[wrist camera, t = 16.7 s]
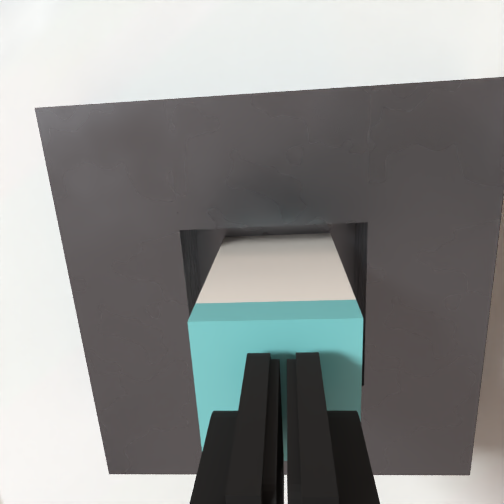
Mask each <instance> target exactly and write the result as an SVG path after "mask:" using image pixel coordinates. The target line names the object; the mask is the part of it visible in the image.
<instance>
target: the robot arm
mask: <svg viewBox="0 0 504 504" xmlns="http://www.w3.org/2000/svg"><path fill="white" fill-rule="evenodd" d="M287 489H288V504H380V502H379V498H378V493H377V489H376V485H375V481H374V477H373V472H372V468H371V464H370V460H369V456H368V452H367V447H366V443H365V439H364V435H363V431H362V426H361V422H360V418H359V415H358V412H357V411H327V407H326V400H325V393H324V386H323V378H322V371H321V364H320V356H319V352H296V359H287ZM190 504H284V450H283V427H282V404H281V381H280V360H279V359H271V355H270V353H247V357H246V363H245V369H244V376H243V382H242V389H241V395H240V402H239V408H238V411H213V412H212V414H211V418H210V422H209V426H208V430H207V434H206V438H205V442H204V447H203V451H202V455H201V459H200V463H199V467H198V471H197V476H196V480H195V484H194V488H193V492H192V496H191V500H190Z"/></svg>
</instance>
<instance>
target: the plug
mask: <svg viewBox="0 0 504 504" xmlns="http://www.w3.org/2000/svg"><path fill="white" fill-rule="evenodd" d="M188 331H189V340H190V349H191V358H192V367H193V375H194V384H195V393H196V402H197V411H198V420H199V429H200V438H201V446H202V451H203V447H204V442H205V438H206V434H207V430H208V426H209V422H210V418H211V414H212V412H213V411H238V408H239V402H240V395H241V389H242V382H243V376H244V369H245V363H246V357H247V353H270V355H271V359H279V360H280V381H281V404H282V427H283V450H284V461H287V359H296V352H319V356H320V364H321V371H322V378H323V386H324V393H325V400H326V407H327V411H357V412H358V415H359V418H360V422H361V388H362V350H363V316H362V314H361V311H360V308H359V306H358V303H357V301H356V298H355V296H354V293H353V291H352V288H351V285H350V283H349V280H348V278H347V275H346V273H345V270H344V267H343V265H342V262H341V260H340V257H339V255H338V252H337V250H336V247H335V244H334V242H333V239H332V237H331V234H330V233H320V234H292V235H264V236H236V237H224V240H223V242H222V244H221V246H220V249H219V251H218V253H217V256H216V258H215V260H214V262H213V265H212V267H211V269H210V272H209V274H208V276H207V278H206V281H205V283H204V285H203V287H202V290H201V292H200V294H199V297H198V299H197V301H196V303H195V306H194V308H193V310H192V313H191V315H190V317H189V319H188Z"/></svg>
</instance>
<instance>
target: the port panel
mask: <svg viewBox="0 0 504 504" xmlns="http://www.w3.org/2000/svg"><path fill="white" fill-rule="evenodd" d="M35 112H36V117H37V122H38V127H39V132H40V137H41V141H42V146H43V151H44V156H45V161H46V166H47V171H48V176H49V181H50V186H51V191H52V195H53V200H54V205H55V210H56V215H57V220H58V225H59V230H60V235H61V240H62V244H63V249H64V254H65V259H66V264H67V269H68V274H69V279H70V284H71V289H72V294H73V298H74V303H75V308H76V313H77V318H78V323H79V328H80V333H81V338H82V343H83V348H84V352H85V357H86V362H87V367H88V372H89V377H90V382H91V387H92V392H93V397H94V402H95V406H96V411H97V416H98V421H99V426H100V431H101V436H102V441H103V446H104V451H105V456H106V460H107V465H108V470H109V474H197V471H198V467H199V463H200V459H201V455H202V446H201V438H200V429H199V420H198V411H197V402H196V393H195V384H194V375H193V367H192V358H191V349H190V340H189V331H188V319H189V317H190V315H191V313H192V310H193V308H194V306H195V303H196V301H197V299H198V297H199V294H200V292H201V290H202V287H203V285H204V283H205V281H206V278H207V276H208V274H209V272H210V269H211V267H212V265H213V262H214V260H215V258H216V256H217V253H218V251H219V249H220V246H221V244H222V242H223V240H224V237H236V236H264V235H292V234H320V233H330V234H331V237H332V239H333V242H334V244H335V247H336V250H337V252H338V255H339V257H340V260H341V262H342V265H343V267H344V270H345V273H346V275H347V278H348V280H349V283H350V285H351V288H352V291H353V293H354V296H355V298H356V301H357V303H358V306H359V308H360V311H361V314H362V316H363V350H362V388H361V426H362V431H363V435H364V439H365V443H366V447H367V452H368V456H369V460H370V464H371V468H372V472H373V475H470V470H471V462H472V453H473V445H474V437H475V428H476V420H477V412H478V403H479V395H480V387H481V378H482V370H483V362H484V353H485V345H486V337H487V328H488V320H489V312H490V304H491V295H492V287H493V279H494V270H495V262H496V254H497V245H498V237H499V229H500V220H501V212H502V204H503V195H504V77H497V78H482V79H467V80H452V81H437V82H421V83H406V84H391V85H376V86H361V87H346V88H330V89H315V90H300V91H285V92H270V93H255V94H239V95H224V96H209V97H194V98H179V99H164V100H148V101H133V102H118V103H103V104H88V105H73V106H58V107H42V108H35ZM284 475H287V461H284Z"/></svg>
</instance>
